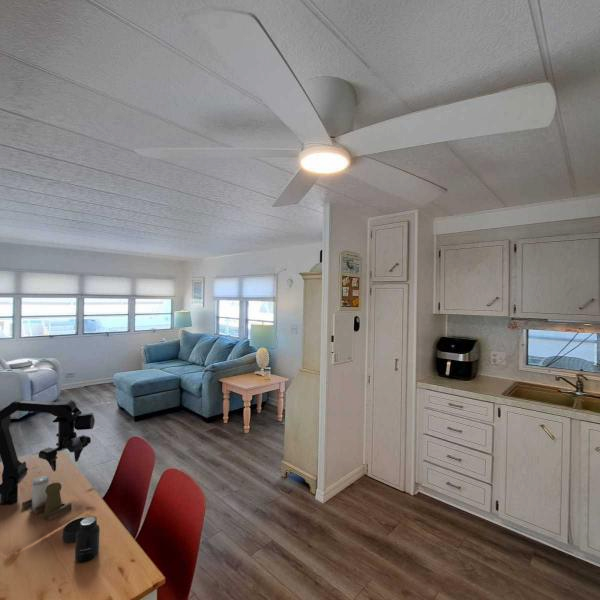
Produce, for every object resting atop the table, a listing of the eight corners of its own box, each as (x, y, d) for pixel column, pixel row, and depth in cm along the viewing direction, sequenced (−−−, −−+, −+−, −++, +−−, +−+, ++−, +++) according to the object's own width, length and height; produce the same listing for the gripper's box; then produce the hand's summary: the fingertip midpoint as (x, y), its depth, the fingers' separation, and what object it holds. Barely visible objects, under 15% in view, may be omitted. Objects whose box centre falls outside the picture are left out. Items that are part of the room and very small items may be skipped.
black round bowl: (69, 547, 115) (69, 536, 115) (58, 537, 120) (58, 526, 120) (96, 533, 123) (96, 522, 123) (84, 523, 127) (85, 513, 127)
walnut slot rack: (22, 510, 134) (22, 502, 134) (43, 499, 142) (44, 491, 142) (49, 523, 127) (50, 514, 127) (71, 511, 134) (71, 503, 134)
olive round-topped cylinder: (66, 508, 135) (66, 481, 135) (52, 517, 129) (52, 489, 129) (54, 505, 136) (54, 479, 136) (39, 515, 130) (40, 487, 130)
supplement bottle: (81, 567, 107) (81, 530, 107) (71, 558, 110) (71, 522, 110) (103, 553, 113) (103, 518, 113) (92, 545, 116) (93, 511, 116)
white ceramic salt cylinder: (28, 507, 135) (29, 481, 135) (43, 500, 140) (44, 474, 140) (36, 511, 132) (37, 484, 132) (51, 503, 138) (52, 477, 138)
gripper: (54, 442, 133) (54, 481, 133) (99, 426, 150) (98, 460, 150) (38, 437, 137) (37, 474, 137) (83, 422, 154) (82, 455, 154)
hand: (65, 466), depth 145 cm, fingers open, 9 cm apart
